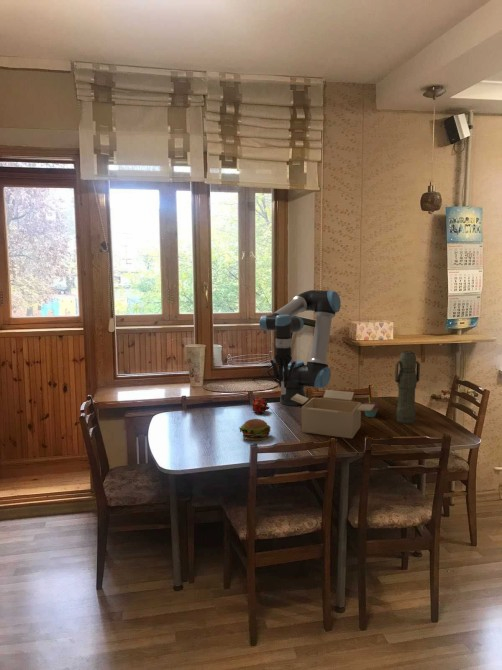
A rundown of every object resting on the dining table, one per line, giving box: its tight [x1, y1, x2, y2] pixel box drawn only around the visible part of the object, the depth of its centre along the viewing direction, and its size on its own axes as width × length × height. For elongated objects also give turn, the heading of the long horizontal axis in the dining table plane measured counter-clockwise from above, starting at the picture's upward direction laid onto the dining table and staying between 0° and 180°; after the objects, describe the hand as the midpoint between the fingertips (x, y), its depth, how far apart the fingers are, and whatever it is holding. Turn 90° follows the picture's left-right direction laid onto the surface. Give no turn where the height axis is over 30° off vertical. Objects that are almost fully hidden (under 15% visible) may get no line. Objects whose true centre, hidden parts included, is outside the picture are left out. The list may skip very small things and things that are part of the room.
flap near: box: [307, 408, 341, 413], centre depth 232 cm, size 14×1×6 cm
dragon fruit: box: [251, 397, 270, 415], centre depth 273 cm, size 8×8×12 cm
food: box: [238, 418, 271, 442], centre depth 237 cm, size 14×14×8 cm
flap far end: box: [357, 403, 375, 412], centre depth 238 cm, size 1×9×6 cm
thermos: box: [394, 350, 421, 425], centre depth 255 cm, size 9×12×35 cm
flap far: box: [322, 389, 355, 402], centre depth 256 cm, size 14×1×6 cm
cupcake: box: [363, 394, 380, 418], centre depth 265 cm, size 9×8×12 cm
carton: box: [301, 397, 362, 439], centre depth 245 cm, size 24×18×12 cm
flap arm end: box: [291, 394, 309, 405], centre depth 251 cm, size 1×9×6 cm
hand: (283, 393), depth 254 cm, fingers closed
